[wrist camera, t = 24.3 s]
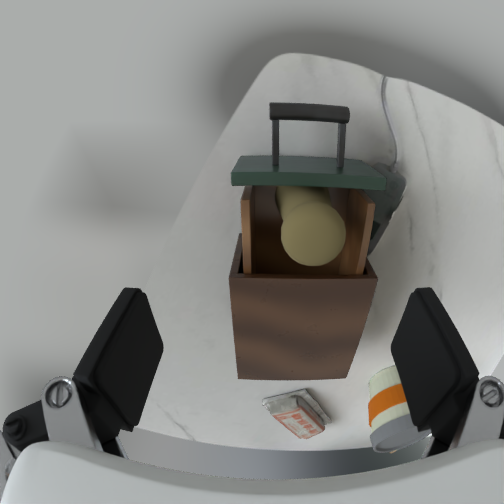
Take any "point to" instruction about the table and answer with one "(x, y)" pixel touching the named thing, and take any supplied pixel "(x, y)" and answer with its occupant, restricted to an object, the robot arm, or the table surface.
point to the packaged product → (298, 413)
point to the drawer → (313, 175)
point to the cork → (309, 224)
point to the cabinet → (297, 322)
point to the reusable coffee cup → (390, 413)
